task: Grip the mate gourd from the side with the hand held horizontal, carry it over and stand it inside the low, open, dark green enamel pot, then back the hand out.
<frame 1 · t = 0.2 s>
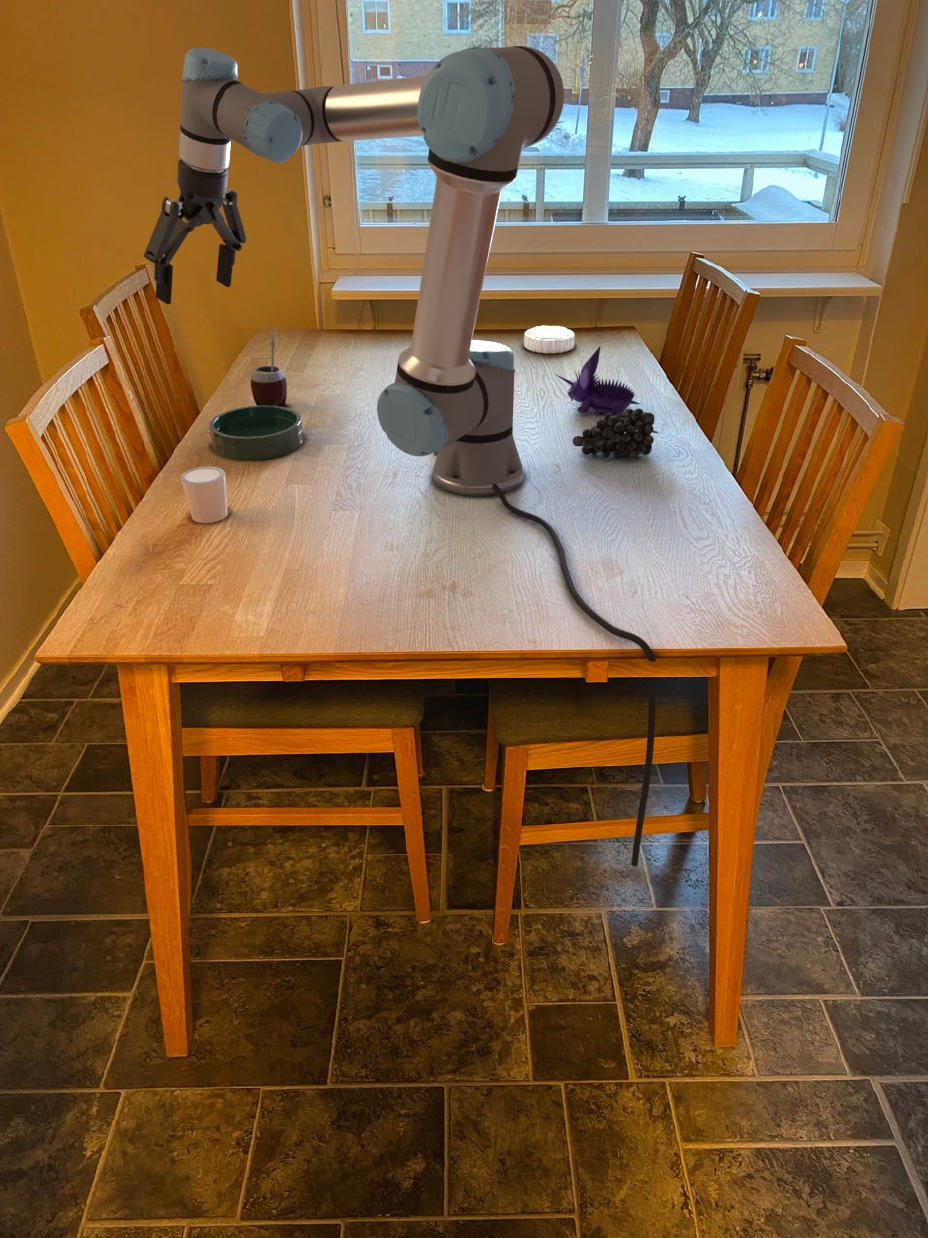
hand: (194, 291, 159), 28 cm above the table, tool tilted 20°, fingers open, 13 cm apart
pot: (258, 442, 174), on the table
fruit: (612, 454, 169), on the table
creature: (596, 410, 188), on the table
mate gourd: (272, 408, 190), on the table
white lid: (548, 346, 223), on the table
shot glass: (209, 516, 149), on the table
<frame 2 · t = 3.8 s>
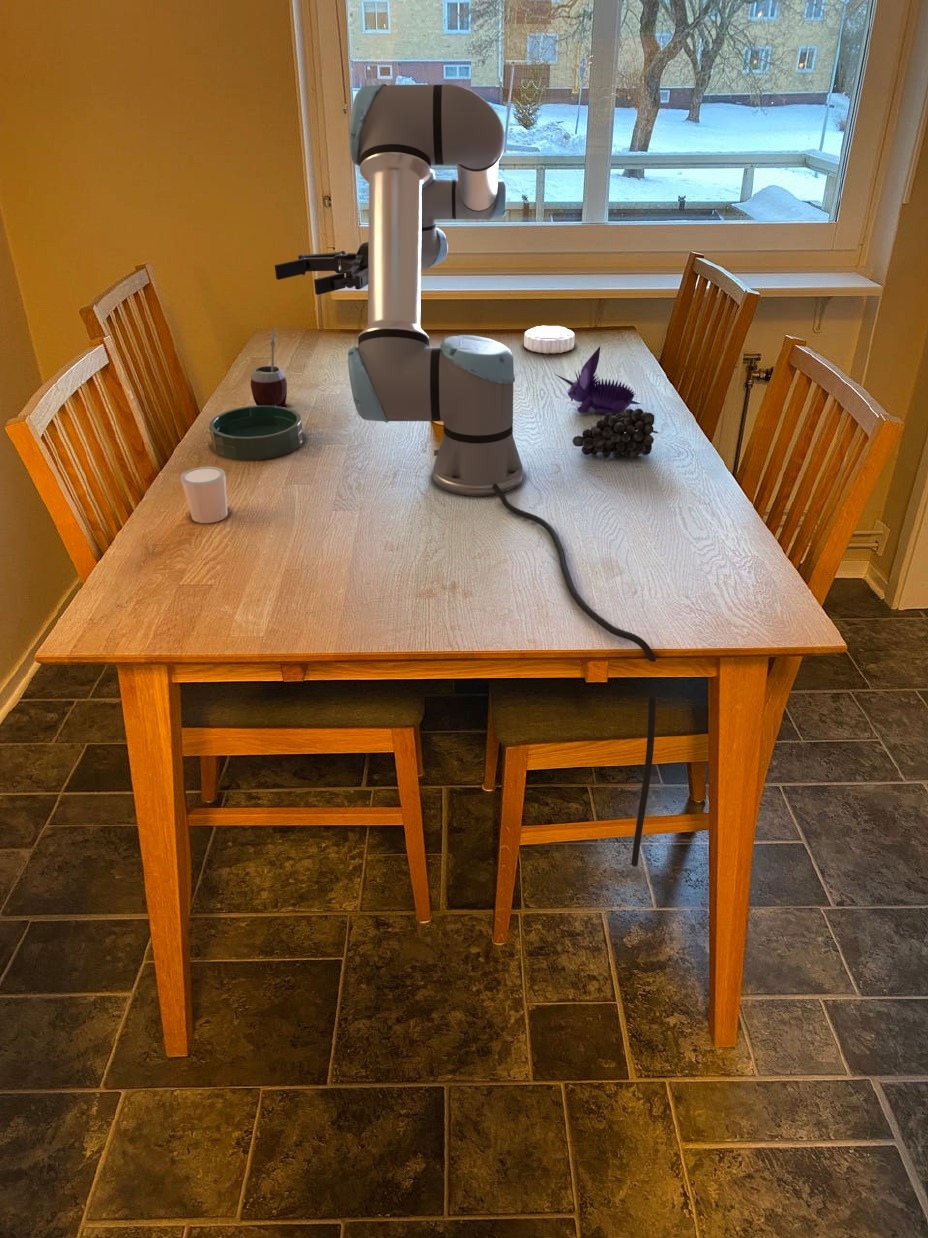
hand: (295, 279, 180), 24 cm above the table, tool horizontal, fingers open, 13 cm apart
nothing on the table moved.
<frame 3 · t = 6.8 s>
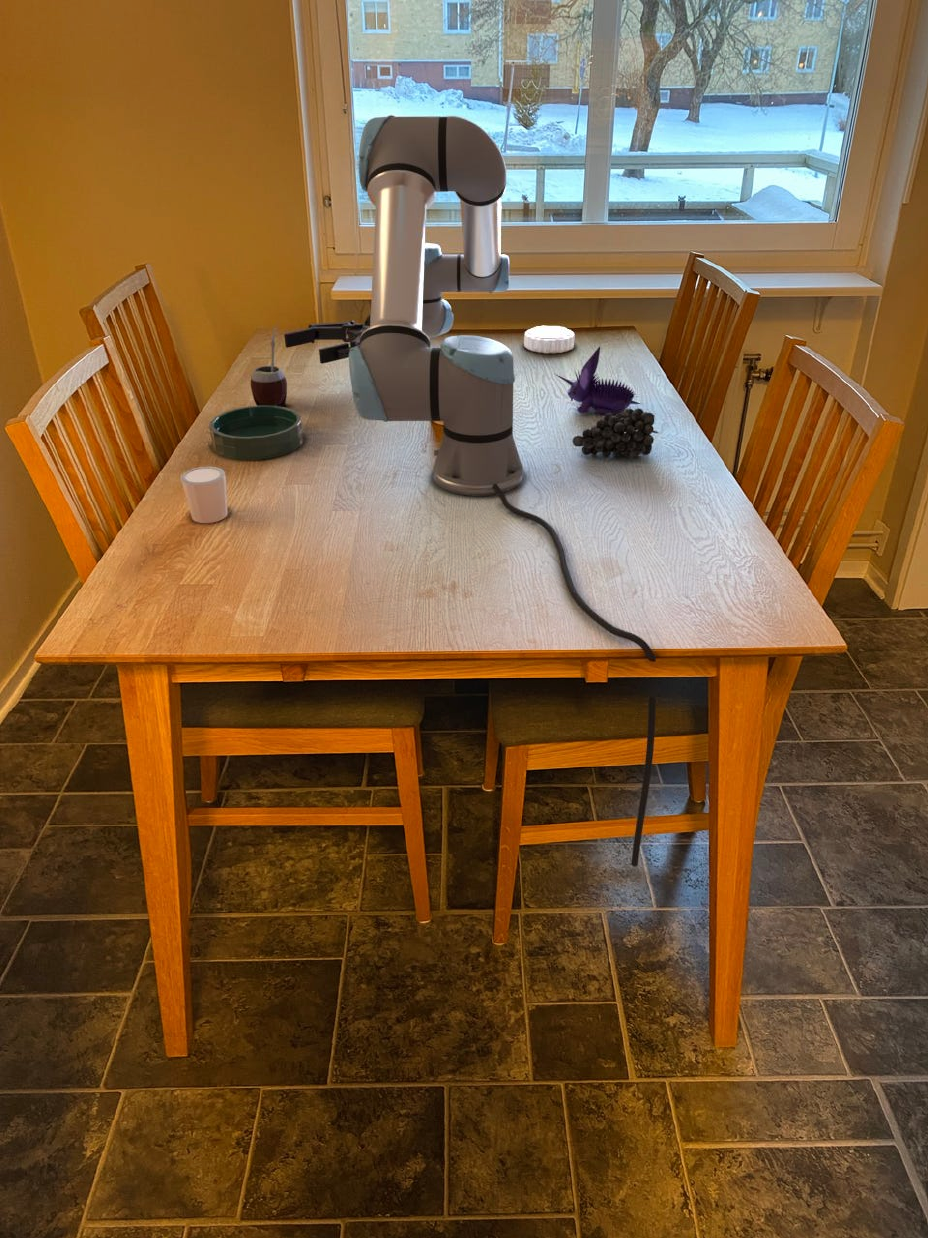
hand: (302, 348, 188), 10 cm above the table, tool horizontal, fingers open, 13 cm apart
nothing on the table moved.
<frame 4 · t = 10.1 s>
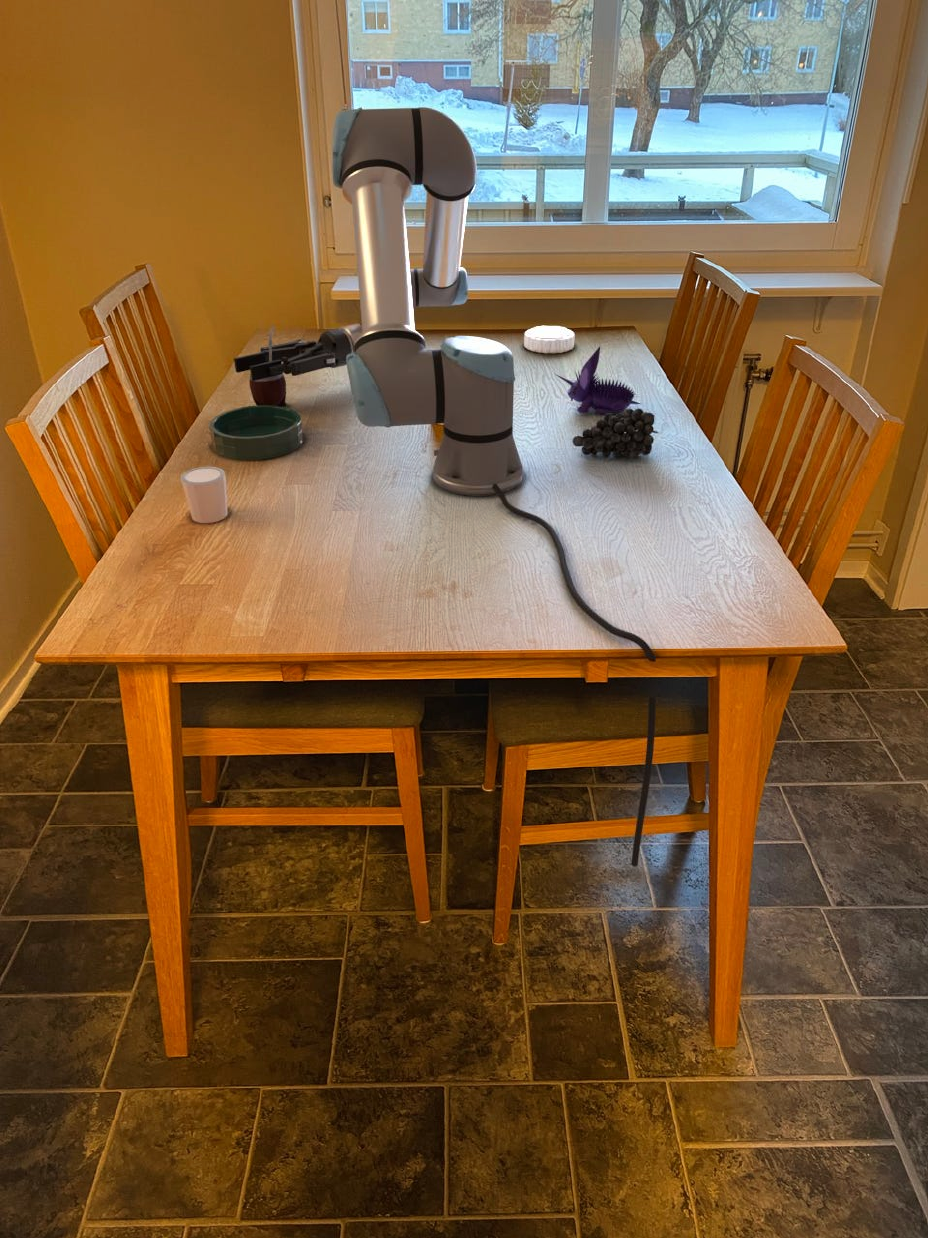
hand: (243, 369, 182), 9 cm above the table, tool horizontal, fingers closed on mate gourd, 6 cm apart
mate gourd: (272, 408, 190), on the table, touching gripper
everything else where it was.
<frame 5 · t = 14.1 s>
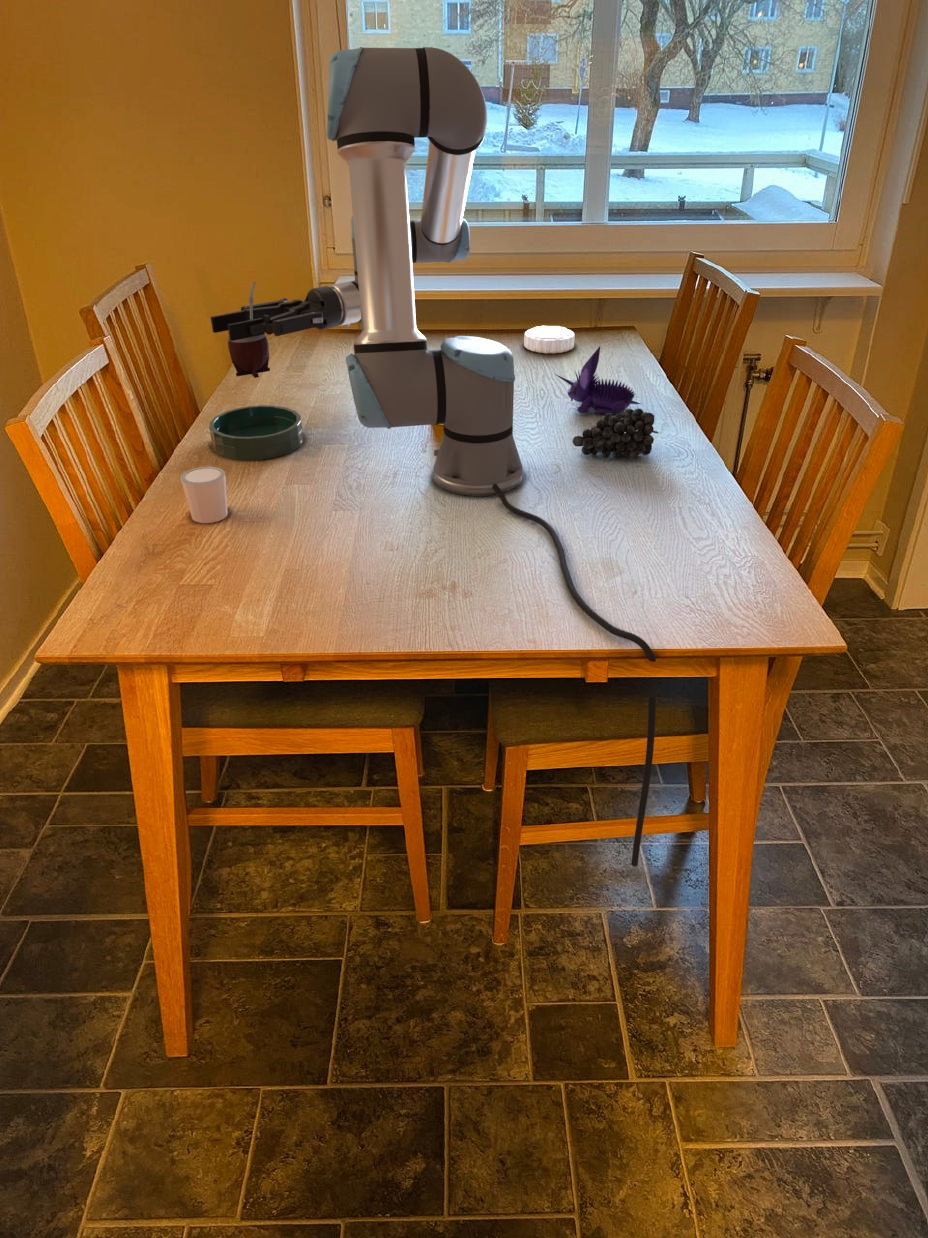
hand: (221, 328, 164), 21 cm above the table, tool horizontal, fingers closed on mate gourd, 6 cm apart
mate gourd: (254, 373, 172), point 12 cm above the table, touching gripper
everything else where it was.
when the fingers open (9 cm above the table, at t = 18.2 s): mate gourd stays where it is, resting on pot.
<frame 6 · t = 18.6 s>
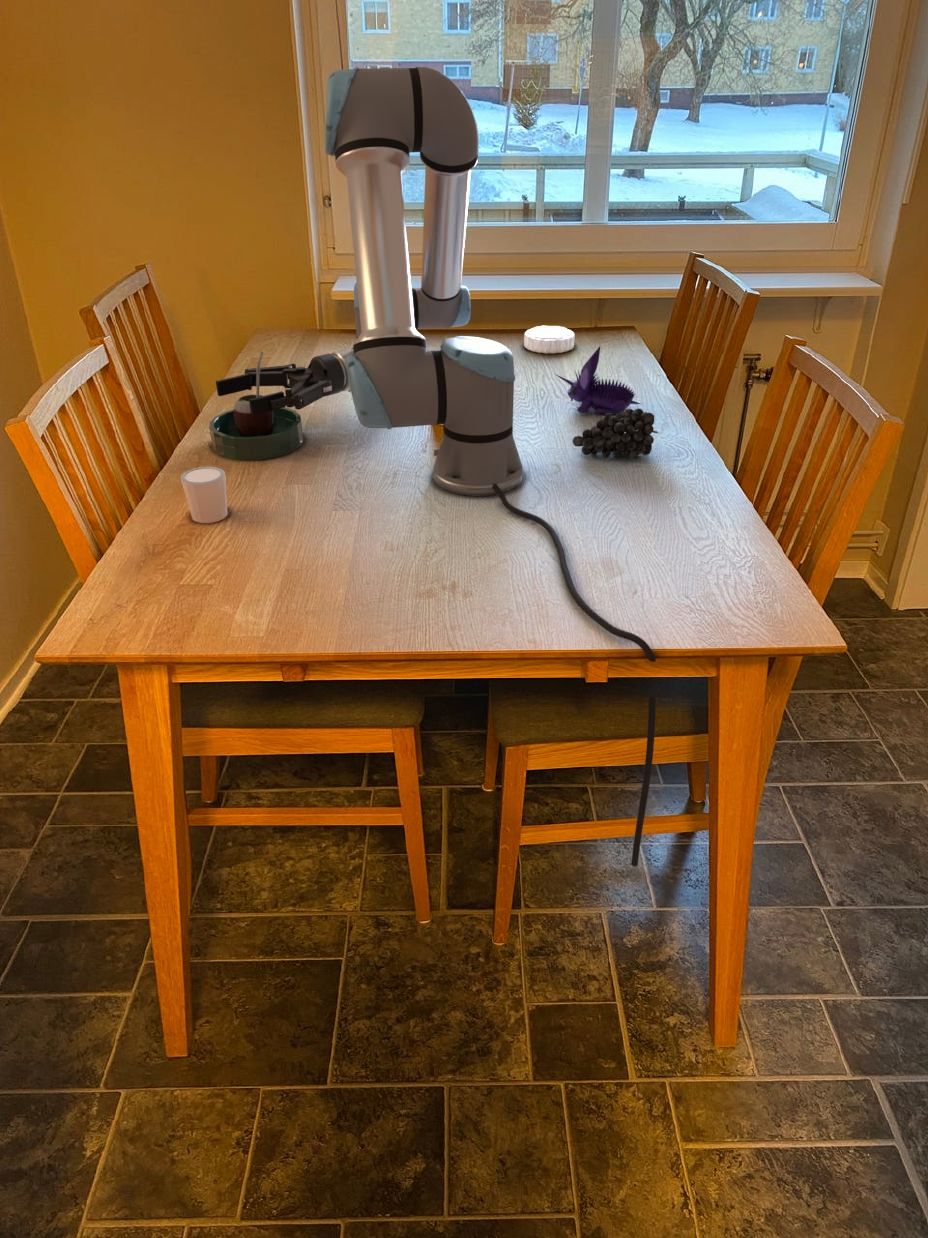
hand: (233, 397, 167), 9 cm above the table, tool horizontal, fingers open, 12 cm apart
mate gourd: (258, 440, 175), resting on pot
everything else where it was.
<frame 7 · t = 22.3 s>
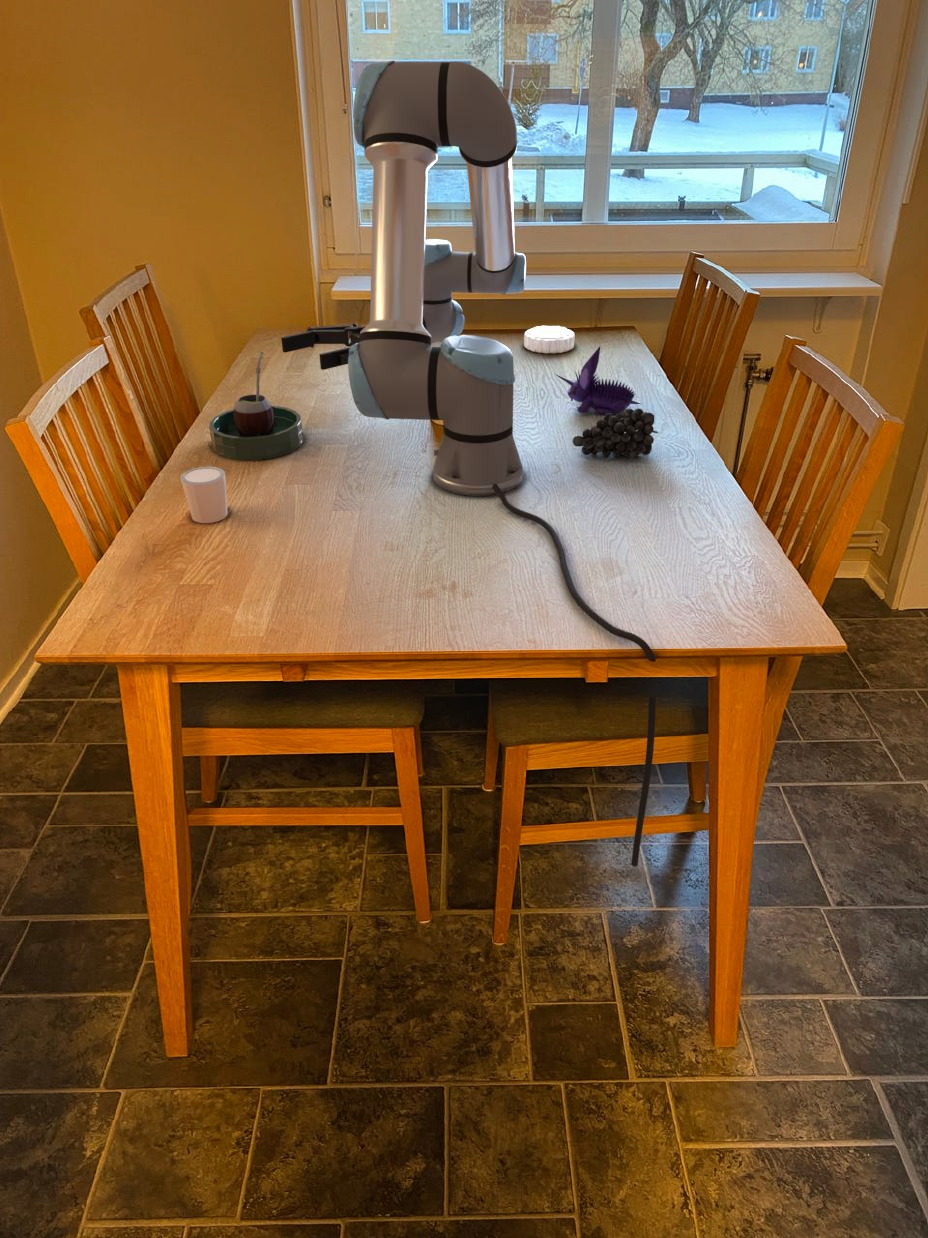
hand: (301, 353, 173), 15 cm above the table, tool horizontal, fingers open, 13 cm apart
nothing on the table moved.
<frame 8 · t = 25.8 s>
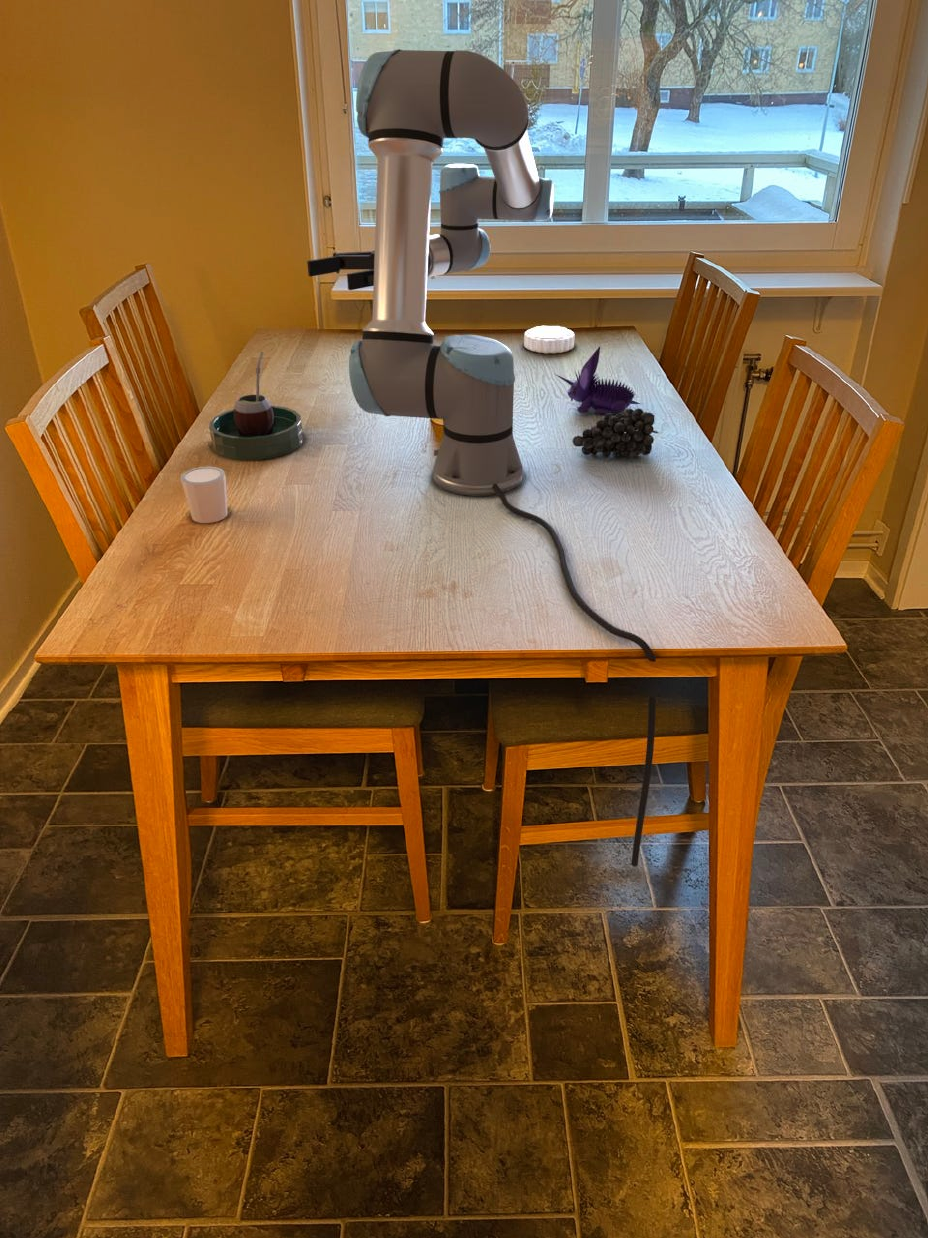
hand: (328, 275, 171), 27 cm above the table, tool horizontal, fingers open, 13 cm apart
nothing on the table moved.
at the end: mate gourd inside the target area in the pot (0.2 cm from its centre), point 0.3 cm above the pot's base; mate gourd tilted 0°; the gripper is holding nothing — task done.
